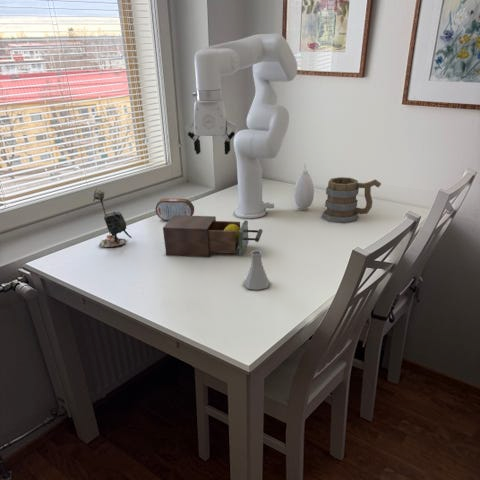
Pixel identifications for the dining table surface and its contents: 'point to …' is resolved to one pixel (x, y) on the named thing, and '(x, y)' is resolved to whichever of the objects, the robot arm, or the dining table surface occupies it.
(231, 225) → the lemon
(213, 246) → the drawer
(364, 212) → the tankard
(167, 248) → the cabinet
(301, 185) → the air blower bulb
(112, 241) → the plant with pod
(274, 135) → the robot arm
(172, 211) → the tin
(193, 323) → the dining table surface
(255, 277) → the flask
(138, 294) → the dining table surface
